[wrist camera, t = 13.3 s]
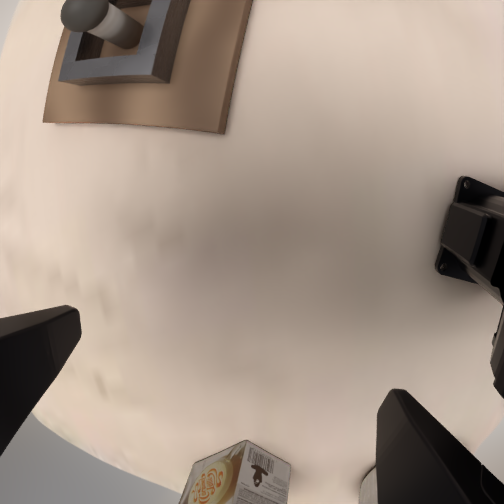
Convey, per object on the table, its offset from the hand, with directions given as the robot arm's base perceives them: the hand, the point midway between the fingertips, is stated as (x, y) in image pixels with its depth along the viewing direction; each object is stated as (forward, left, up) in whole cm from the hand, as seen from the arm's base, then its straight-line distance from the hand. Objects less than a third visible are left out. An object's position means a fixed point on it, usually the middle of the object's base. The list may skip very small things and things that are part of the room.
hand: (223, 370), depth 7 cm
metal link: (+11, -12, -10) cm, 19 cm away
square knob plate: (+11, -12, -12) cm, 20 cm away
